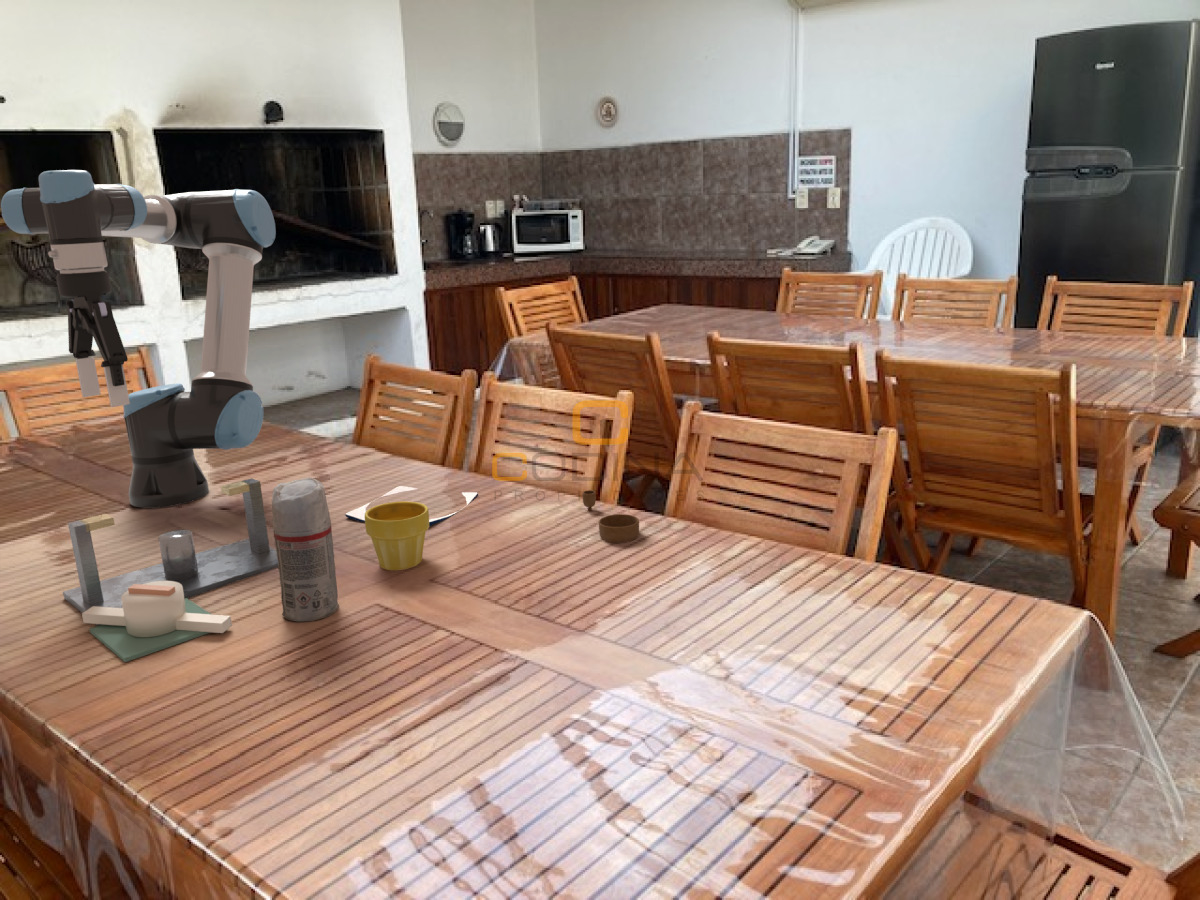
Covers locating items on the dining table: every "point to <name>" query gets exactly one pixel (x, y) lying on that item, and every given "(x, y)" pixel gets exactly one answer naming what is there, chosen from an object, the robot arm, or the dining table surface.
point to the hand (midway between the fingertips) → (105, 400)
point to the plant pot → (398, 533)
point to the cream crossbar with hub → (155, 612)
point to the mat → (141, 646)
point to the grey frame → (176, 557)
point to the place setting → (613, 523)
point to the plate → (360, 512)
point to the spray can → (304, 550)
